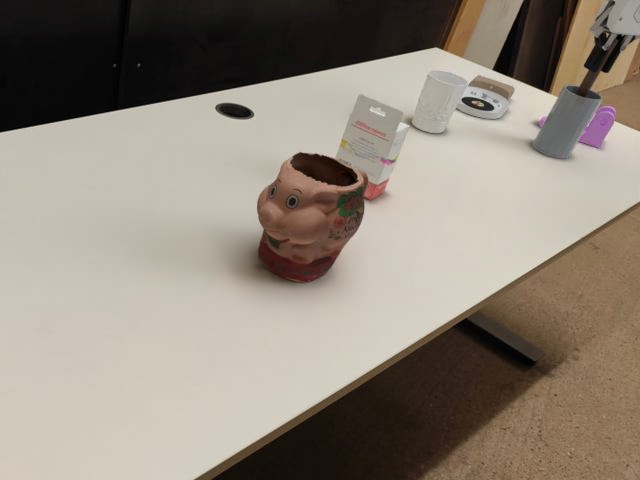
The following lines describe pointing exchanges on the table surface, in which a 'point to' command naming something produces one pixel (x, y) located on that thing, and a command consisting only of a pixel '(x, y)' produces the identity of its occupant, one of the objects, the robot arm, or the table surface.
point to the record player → (486, 98)
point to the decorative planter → (309, 215)
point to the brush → (593, 74)
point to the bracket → (596, 126)
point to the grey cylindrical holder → (566, 122)
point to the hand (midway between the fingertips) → (595, 69)
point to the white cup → (438, 100)
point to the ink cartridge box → (373, 142)
